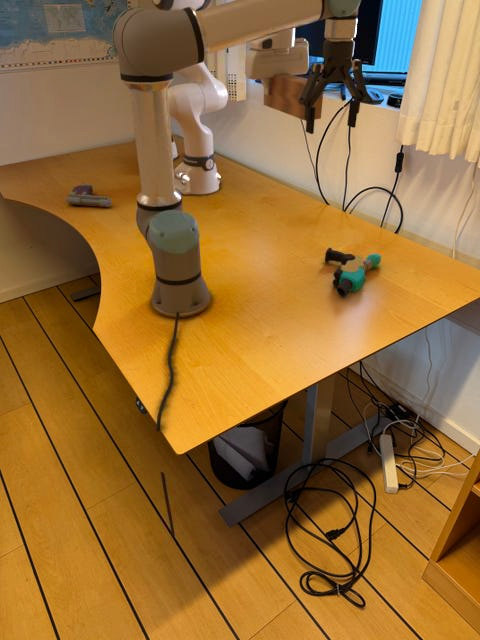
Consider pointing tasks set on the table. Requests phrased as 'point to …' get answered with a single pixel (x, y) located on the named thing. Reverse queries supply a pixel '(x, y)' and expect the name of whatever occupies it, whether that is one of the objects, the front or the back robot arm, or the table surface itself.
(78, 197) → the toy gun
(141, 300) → the table surface
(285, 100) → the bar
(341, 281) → the toy gun
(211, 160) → the back robot arm
